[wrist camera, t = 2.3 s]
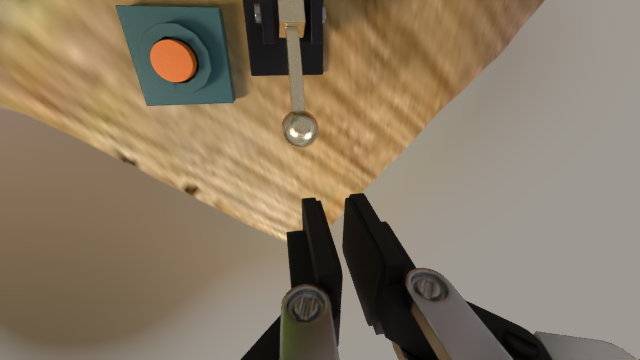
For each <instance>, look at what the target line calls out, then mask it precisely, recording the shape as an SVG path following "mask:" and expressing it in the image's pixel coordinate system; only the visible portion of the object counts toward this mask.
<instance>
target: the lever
mask: <svg viewBox="0 0 640 360" xmlns="http://www.w3.org/2000/svg"><path fill="white" fill-rule="evenodd" d="M276 1H277V18H278V30H279V38H286V47H287V59H288V72H289V84H290V96H291V108H292V112H290V113H289V114H288V115H287V116H286V117H285V118H284V120H283V122H282V125H281V132H282V136H283V138H284V140H285V141H286V142H287V143H288V144H289V145H291V146H293V147H296V148H304V147H307V146H309V145H311V144H312V143H313V142H314V141H315V140H316V138H317V135H318V131H319V128H318V123H317V121H316V119H315V117H314V116H313V115H312V114H310V113H309V112H307V111H305V100H304V88H303V75H302V63H301V51H300V39H299V38H303V36H304V29H305V23H306V19H305V7H304V0H276Z"/></svg>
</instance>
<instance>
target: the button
mask: <svg viewBox="0 0 640 360" xmlns="http://www.w3.org/2000/svg"><path fill="white" fill-rule="evenodd" d="M150 60H151V64H152V66H153V68H154V69H155V71H156V72H157V73H158V74H159V75H160V76H161V77H162V78H164V79H166V80H168V81H171V82H182V81H185V80H187V79H189V78H190V77H192V76H193V74H194V73H195V71H196V68H197V61H196V57H195V55H194V53H193V51H192V50H191V49H190V48H189V47H188V46H187V45H186V44H184V43H183V42H181V41H178V40H173V39H170V40H161V41H158V42H157V43H156V44H154V46H153V47H152V49H151V52H150Z"/></svg>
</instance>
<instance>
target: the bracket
mask: <svg viewBox="0 0 640 360" xmlns="http://www.w3.org/2000/svg"><path fill="white" fill-rule="evenodd" d="M243 6H244V15H245V23H246V32H247V40H248V49H249V58H250V66H251V75H252V76H269V75H289V72H288V59H287V47H286V38H279V30H278V18H277V1H276V0H243ZM304 7H305V19H306V23H305V29H304V36H303V38H299V39H300V51H301V63H302V75H321V74H323V24H325V21H326V7H325V5H323V0H304Z"/></svg>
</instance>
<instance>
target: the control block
mask: <svg viewBox="0 0 640 360" xmlns="http://www.w3.org/2000/svg"><path fill="white" fill-rule="evenodd" d="M116 9H117V12H118V15H119V18H120V21H121V24H122V28H123V31H124V34H125V37H126V40H127V44H128V47H129V50H130V53H131V56H132V59H133V63H134V66H135V69H136V72H137V75H138V79H139V82H140V85H141V88H142V91H143V94H144V98H145V101H146V104H147V106H155V105H184V104H214V103H233V102H234V101H235V93H234V86H233V80H232V73H231V66H230V60H229V53H228V47H227V40H226V33H225V27H224V20H223V13H222V9H220V8H218V7H174V6H121V5H116ZM170 39H173V40H178V41H181V42H183V43H184V44H186V45H187V46H188V47H189V48H190V49H191V50H192V51H193V53H194V55H195V57H196V61H197V68H196V71H195V73H194V74H193V76H192V77H190V78H189V79H187V80H185V81H182V82H171V81H168V80H166V79H164V78H162V77H161V76H160V75H159V74H158V73H157V72H156V71H155V69H154V68H153V66H152V64H151V60H150V52H151V49H152V47H153V46H154V44H156V43H157V42H158V41H161V40H170Z"/></svg>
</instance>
